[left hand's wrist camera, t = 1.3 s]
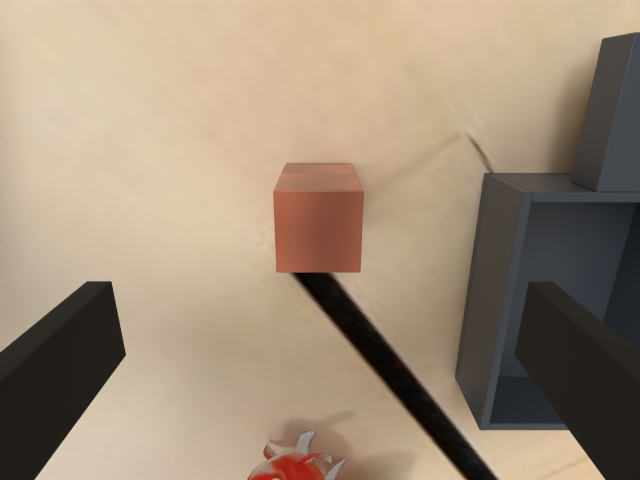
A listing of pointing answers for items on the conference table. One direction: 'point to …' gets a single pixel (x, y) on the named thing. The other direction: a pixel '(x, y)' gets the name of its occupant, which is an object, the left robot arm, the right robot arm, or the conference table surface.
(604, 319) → the tray
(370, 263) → the conference table surface
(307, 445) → the fish
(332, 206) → the block
